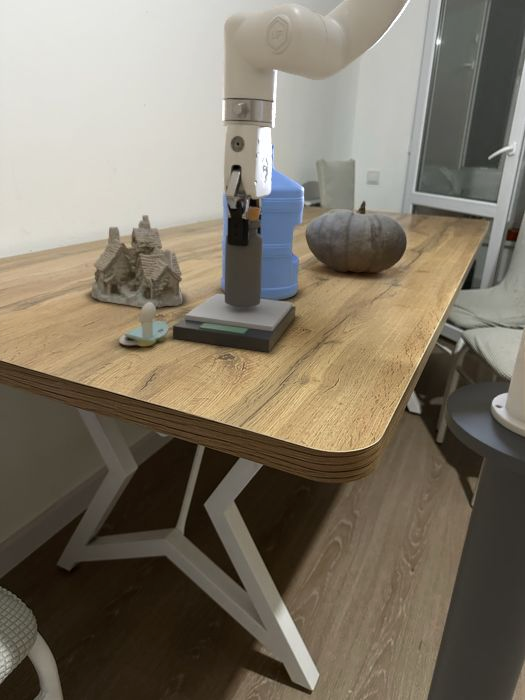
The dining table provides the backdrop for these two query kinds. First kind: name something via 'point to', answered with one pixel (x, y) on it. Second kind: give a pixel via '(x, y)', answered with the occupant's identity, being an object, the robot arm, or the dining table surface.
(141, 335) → the pacifier
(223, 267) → the water jug
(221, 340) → the scale
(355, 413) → the dining table surface
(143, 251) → the ceramic cottage
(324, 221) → the gourd
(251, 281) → the bottle
